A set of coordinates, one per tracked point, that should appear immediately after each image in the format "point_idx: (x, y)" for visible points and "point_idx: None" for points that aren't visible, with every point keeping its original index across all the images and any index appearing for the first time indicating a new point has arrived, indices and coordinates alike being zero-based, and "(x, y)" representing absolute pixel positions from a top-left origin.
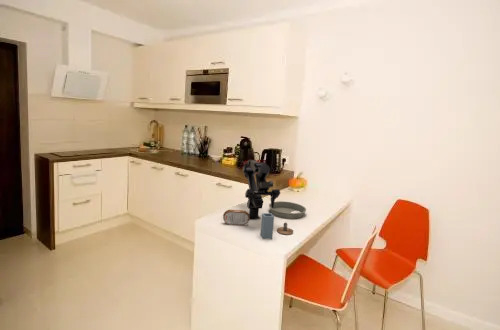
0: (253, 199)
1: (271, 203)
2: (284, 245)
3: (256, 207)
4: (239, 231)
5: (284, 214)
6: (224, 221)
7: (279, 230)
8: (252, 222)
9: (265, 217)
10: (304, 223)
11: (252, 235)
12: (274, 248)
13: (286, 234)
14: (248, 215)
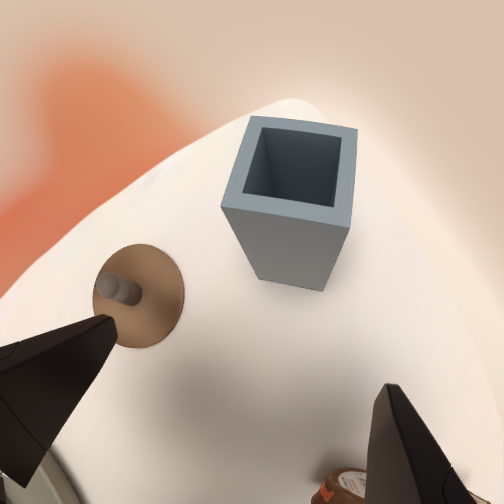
0: (468, 497)
1: (69, 395)
2: None
3: (388, 384)
4: (428, 377)
5: None
6: None
7: (164, 302)
8: (266, 500)
9: (345, 134)
10: None
11: (375, 298)
12: None
13: (156, 248)
14: (344, 494)
